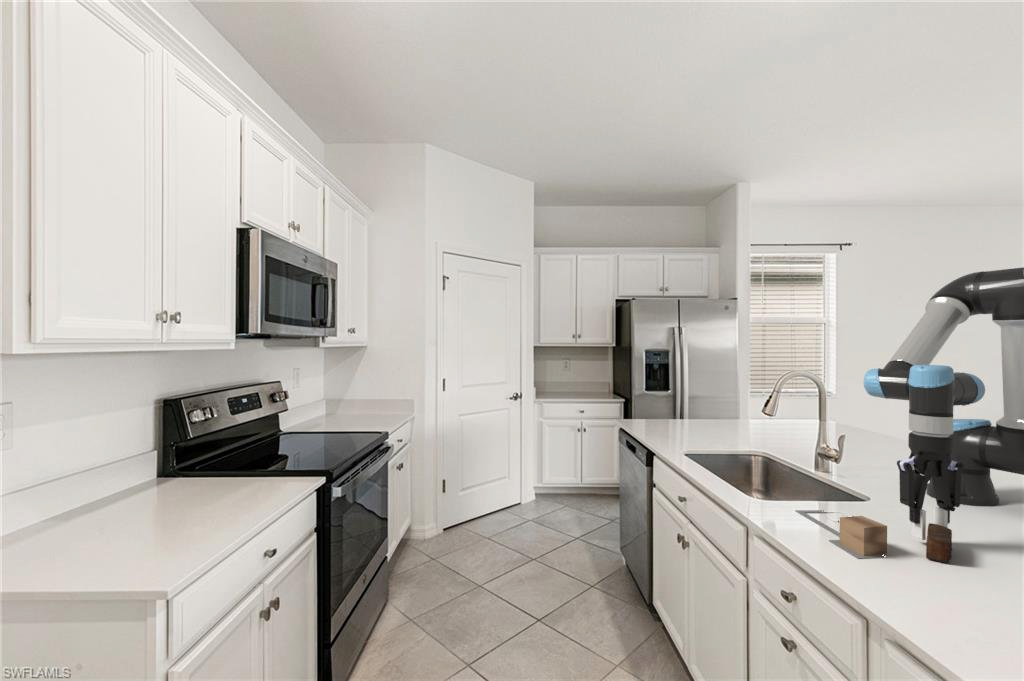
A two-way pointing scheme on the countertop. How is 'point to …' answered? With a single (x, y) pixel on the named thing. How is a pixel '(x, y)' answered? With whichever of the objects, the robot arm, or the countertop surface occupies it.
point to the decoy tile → (855, 552)
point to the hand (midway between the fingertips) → (929, 537)
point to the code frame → (803, 512)
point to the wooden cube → (863, 535)
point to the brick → (939, 543)
